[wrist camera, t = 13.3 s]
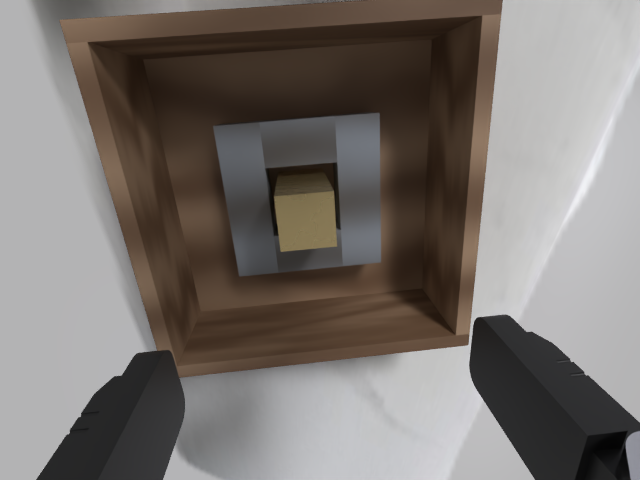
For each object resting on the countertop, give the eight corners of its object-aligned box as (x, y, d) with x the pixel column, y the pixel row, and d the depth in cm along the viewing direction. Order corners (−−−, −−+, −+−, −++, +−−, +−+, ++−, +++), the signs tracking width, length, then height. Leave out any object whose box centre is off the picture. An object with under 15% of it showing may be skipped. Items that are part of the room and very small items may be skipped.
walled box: (130, 46, 24) (59, 19, 17) (440, 25, 25) (503, -9, 18) (194, 316, 32) (165, 379, 25) (428, 291, 33) (468, 345, 26)
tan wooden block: (278, 171, 27) (273, 196, 20) (322, 167, 27) (333, 191, 20) (283, 213, 28) (280, 251, 21) (325, 209, 28) (337, 246, 21)
